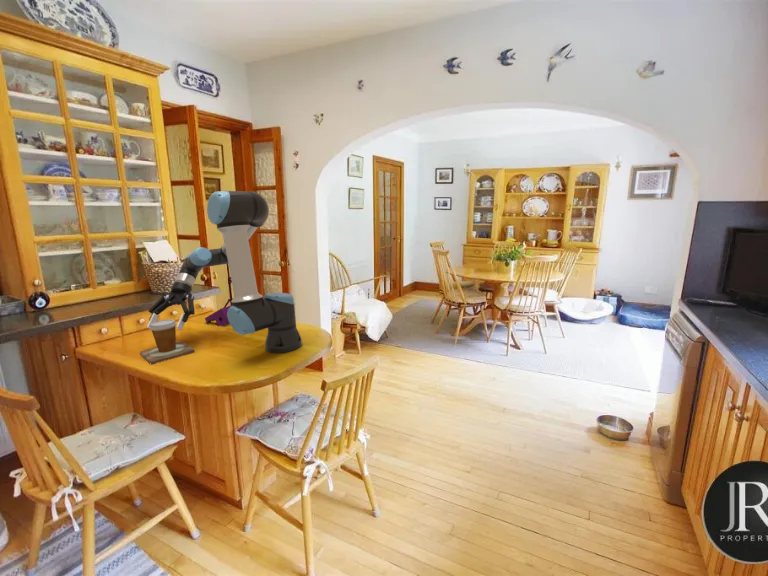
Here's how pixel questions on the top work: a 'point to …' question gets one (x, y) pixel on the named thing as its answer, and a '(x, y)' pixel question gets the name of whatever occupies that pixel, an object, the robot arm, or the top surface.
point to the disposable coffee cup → (164, 335)
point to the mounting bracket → (219, 316)
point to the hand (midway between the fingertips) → (164, 328)
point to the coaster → (166, 353)
